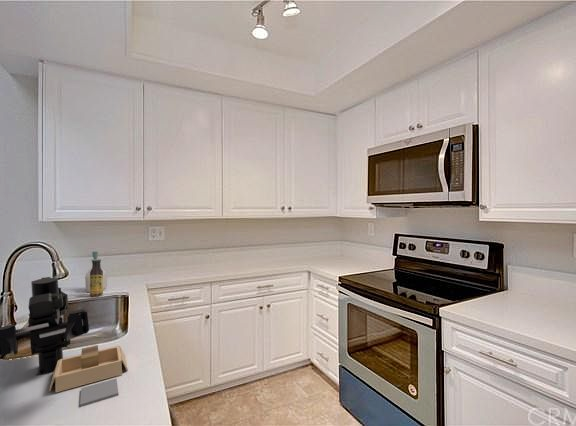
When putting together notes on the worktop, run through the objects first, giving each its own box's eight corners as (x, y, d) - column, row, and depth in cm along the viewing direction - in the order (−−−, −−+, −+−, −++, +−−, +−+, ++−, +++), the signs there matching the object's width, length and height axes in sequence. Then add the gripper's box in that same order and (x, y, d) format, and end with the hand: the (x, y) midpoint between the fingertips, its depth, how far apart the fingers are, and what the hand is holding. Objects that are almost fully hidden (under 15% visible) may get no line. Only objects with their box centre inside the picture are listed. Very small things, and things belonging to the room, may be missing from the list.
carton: (54, 372, 90) (53, 359, 90) (124, 355, 100) (123, 342, 100) (48, 397, 78) (47, 381, 78) (128, 375, 88) (127, 360, 88)
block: (82, 368, 91) (81, 348, 91) (98, 364, 93) (97, 344, 93) (81, 380, 85) (80, 358, 85) (99, 376, 87) (98, 354, 87)
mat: (81, 392, 80) (81, 388, 80) (116, 381, 85) (116, 378, 84) (80, 408, 74) (79, 404, 73) (118, 396, 78) (118, 392, 78)
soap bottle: (107, 287, 189) (106, 249, 189) (104, 291, 180) (102, 252, 179) (89, 289, 186) (88, 251, 186) (84, 293, 177) (83, 253, 176)
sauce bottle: (88, 298, 167) (87, 261, 167) (90, 295, 173) (89, 259, 172) (102, 296, 170) (101, 259, 169) (104, 293, 175) (103, 258, 175)
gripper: (-5, 299, 78) (-21, 324, 65) (84, 283, 88) (85, 302, 76) (1, 341, 79) (-13, 373, 67) (88, 320, 90) (90, 344, 77)
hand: (41, 345), depth 71 cm, fingers open, 9 cm apart
